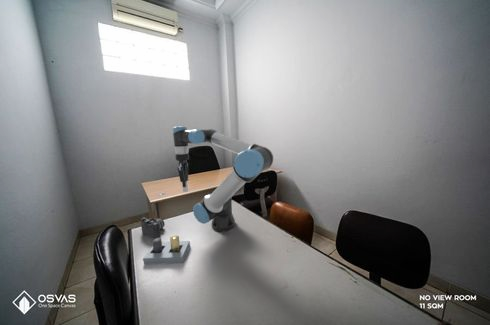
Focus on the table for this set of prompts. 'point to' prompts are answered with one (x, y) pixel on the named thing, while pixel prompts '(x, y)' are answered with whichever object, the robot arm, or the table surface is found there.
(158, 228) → the camera
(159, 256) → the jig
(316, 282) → the table surface
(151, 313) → the table surface
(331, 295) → the table surface
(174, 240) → the brass cylinder
